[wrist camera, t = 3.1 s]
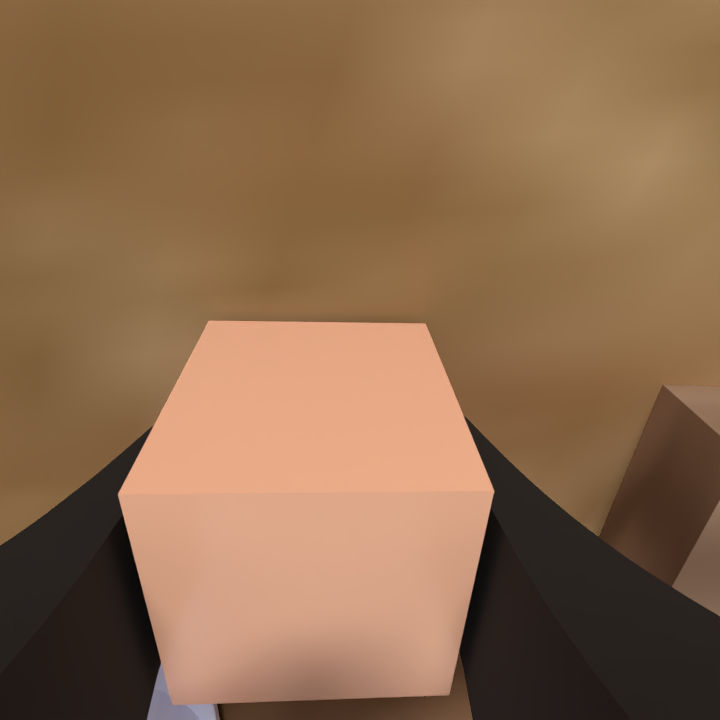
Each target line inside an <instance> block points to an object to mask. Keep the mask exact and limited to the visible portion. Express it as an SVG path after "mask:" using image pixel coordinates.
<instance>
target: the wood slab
mask: <svg viewBox="0 0 720 720" xmlns="http://www.w3.org/2000/svg"><path fill="white" fill-rule="evenodd" d="M599 538H601V539H602V540H603V541H605V542H606V543H607V544H609V545H610V546H611V547H613V548H614V549H616V550H617V551H618V552H620V553H621V554H622V555H624V556H625V557H627V558H628V559H630V560H631V561H633V562H634V563H636V564H637V565H639V566H640V567H642V568H643V569H644V570H646V571H648V572H649V573H651V574H652V575H654V576H655V577H657V578H659V579H660V580H662V581H663V582H665V583H666V584H668V585H670V586H671V587H673V588H674V589H676V590H677V591H679V592H681V593H682V594H684V595H685V596H687V597H688V598H690V599H692V600H693V601H695V602H697V603H698V604H700V605H702V606H704V607H705V608H707V609H709V610H710V611H712V612H714V613H715V614H717V615H719V616H720V387H719V386H689V385H663V386H662V388H661V390H660V393H659V395H658V397H657V400H656V402H655V405H654V407H653V409H652V412H651V414H650V417H649V419H648V421H647V424H646V426H645V428H644V431H643V433H642V436H641V438H640V440H639V443H638V445H637V448H636V450H635V452H634V455H633V457H632V459H631V462H630V464H629V467H628V469H627V471H626V474H625V476H624V479H623V481H622V483H621V486H620V488H619V490H618V493H617V495H616V498H615V500H614V502H613V505H612V507H611V510H610V512H609V514H608V517H607V519H606V521H605V524H604V526H603V529H602V531H601V533H600V536H599Z"/></svg>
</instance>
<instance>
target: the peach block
mask: <svg viewBox="0 0 720 720" xmlns="http://www.w3.org/2000/svg"><path fill="white" fill-rule="evenodd" d="M493 495H494V489H493V486H492V484H491V482H490V479H489V477H488V474H487V472H486V469H485V467H484V465H483V462H482V460H481V457H480V455H479V452H478V450H477V448H476V445H475V443H474V440H473V438H472V435H471V433H470V431H469V428H468V426H467V423H466V421H465V418H464V416H463V413H462V411H461V409H460V406H459V404H458V401H457V399H456V396H455V394H454V392H453V389H452V387H451V384H450V382H449V379H448V377H447V375H446V372H445V370H444V367H443V365H442V362H441V360H440V358H439V355H438V353H437V350H436V348H435V345H434V343H433V341H432V338H431V336H430V333H429V331H428V328H427V326H426V324H423V323H345V322H267V321H209V322H208V323H207V325H206V327H205V329H204V331H203V333H202V335H201V337H200V339H199V341H198V343H197V344H196V346H195V348H194V350H193V352H192V354H191V356H190V358H189V360H188V362H187V364H186V365H185V367H184V369H183V371H182V373H181V375H180V377H179V379H178V381H177V383H176V385H175V386H174V388H173V390H172V392H171V394H170V396H169V398H168V400H167V402H166V404H165V405H164V407H163V409H162V411H161V413H160V415H159V417H158V419H157V421H156V423H155V425H154V426H153V428H152V430H151V432H150V434H149V436H148V438H147V440H146V442H145V444H144V446H143V447H142V449H141V451H140V453H139V455H138V457H137V459H136V461H135V463H134V465H133V467H132V468H131V470H130V472H129V474H128V476H127V478H126V480H125V482H124V484H123V486H122V488H121V489H120V491H119V493H118V497H119V501H120V505H121V508H122V512H123V516H124V520H125V524H126V528H127V532H128V536H129V540H130V543H131V547H132V551H133V555H134V559H135V563H136V567H137V571H138V574H139V578H140V582H141V586H142V590H143V594H144V598H145V602H146V605H147V609H148V613H149V617H150V621H151V625H152V629H153V633H154V636H155V640H156V644H157V648H158V652H159V656H160V660H161V664H162V668H163V671H164V675H165V679H166V683H167V687H168V691H169V695H170V699H171V702H172V705H193V704H221V703H248V702H275V701H303V700H330V699H357V698H384V697H412V696H439V695H449V694H450V689H451V685H452V680H453V676H454V671H455V667H456V662H457V658H458V653H459V649H460V644H461V639H462V635H463V630H464V626H465V621H466V617H467V612H468V608H469V603H470V599H471V594H472V590H473V585H474V581H475V576H476V572H477V567H478V563H479V558H480V553H481V549H482V544H483V540H484V535H485V531H486V526H487V522H488V517H489V513H490V508H491V504H492V499H493Z"/></svg>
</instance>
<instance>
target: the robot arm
mask: <svg viewBox="0 0 720 720" xmlns="http://www.w3.org/2000/svg"><path fill="white" fill-rule="evenodd" d="M463 416H464V415H463ZM464 418H465V421H466V423H467V426H468V428H469V431H470V433H471V435H472V438H473V440H474V443H475V445H476V448H477V450H478V452H479V455H480V457H481V460H482V462H483V465H484V467H485V469H486V472H487V474H488V477H489V479H490V482H491V484H492V486H493V489H494V495H493V499H492V504H491V508H490V513H489V517H488V522H487V526H486V531H485V535H484V540H483V544H482V549H481V553H480V558H479V563H478V567H477V572H476V576H475V581H474V585H473V590H472V594H471V599H470V603H469V608H468V612H467V617H466V621H465V626H464V630H463V635H462V639H461V644H460V649H459V651H460V655H461V659H462V663H463V668H464V673H465V679H466V684H467V690H468V695H469V701H470V706H471V712H472V718H473V720H720V616H719V615H717V614H715V613H714V612H712V611H710V610H709V609H707V608H705V607H704V606H702V605H700V604H698V603H697V602H695V601H693V600H692V599H690V598H688V597H687V596H685V595H684V594H682V593H681V592H679V591H677V590H676V589H674V588H673V587H671V586H670V585H668V584H666V583H665V582H663V581H662V580H660V579H659V578H657V577H655V576H654V575H652V574H651V573H649V572H648V571H646V570H644V569H643V568H642V567H640V566H639V565H637V564H636V563H634V562H633V561H631V560H630V559H628V558H627V557H625V556H624V555H622V554H621V553H620V552H618V551H617V550H616V549H614V548H613V547H611V546H610V545H609V544H607V543H606V542H605V541H603V540H602V539H601V538H599V537H598V536H596V535H595V534H594V533H592V532H591V531H590V530H588V529H587V528H586V527H584V526H583V525H582V524H581V523H579V522H578V521H577V520H575V519H574V518H573V517H572V516H570V515H569V514H568V513H567V512H566V511H564V510H563V509H562V508H561V507H560V506H559V505H557V504H556V503H555V502H554V501H553V500H551V499H550V498H549V497H548V496H547V495H546V494H544V493H543V492H542V491H541V490H540V489H539V488H538V487H536V486H535V485H534V484H533V483H532V482H531V481H530V480H529V479H528V478H526V477H525V476H524V475H523V474H522V473H521V472H520V471H519V470H518V469H517V468H516V467H515V466H514V465H513V464H512V463H511V462H510V461H508V460H507V459H506V458H505V457H504V456H503V455H502V454H501V453H500V452H499V451H498V450H497V449H496V448H495V447H494V446H493V445H492V444H491V443H490V442H489V441H488V440H487V439H486V438H485V437H484V436H483V435H482V433H481V432H480V431H479V430H478V429H477V428H476V427H475V426H474V425H473V424H472V423H471V422H470V421H469V420H468V419H467V418H466V417H465V416H464ZM154 425H155V424H154ZM154 425H153V426H154ZM153 426H152V427H151V428H150V429H149V430H148V431H146V432H145V433H144V434H143V435H142V436H141V437H140V438H138V439H137V440H136V441H135V442H134V443H133V444H132V445H131V446H129V447H128V448H127V449H126V450H125V451H124V452H122V453H121V454H120V455H119V456H118V457H117V458H115V459H114V460H113V461H112V462H111V463H109V464H108V465H107V466H106V467H105V468H104V469H102V470H101V471H100V472H99V473H98V474H97V475H95V476H94V477H93V478H92V479H90V480H89V481H88V482H86V483H85V484H84V485H83V486H81V487H80V488H79V489H77V490H76V491H75V492H74V493H72V494H71V495H70V496H68V497H67V498H66V499H65V500H63V501H62V502H61V503H59V504H58V505H57V506H56V507H54V508H53V509H52V510H50V511H49V512H48V513H47V514H45V515H44V516H42V517H41V518H40V519H38V520H37V521H36V522H34V523H33V524H31V525H30V526H29V527H27V528H26V529H24V530H23V531H21V532H20V533H19V534H17V535H16V536H14V537H13V538H11V539H10V540H8V541H7V542H5V543H4V544H2V545H1V546H0V720H220V718H219V712H218V707H217V704H193V705H172V702H171V699H170V695H169V691H168V687H167V683H166V679H165V675H164V671H163V668H162V664H161V660H160V656H159V652H158V648H157V644H156V640H155V636H154V633H153V629H152V625H151V621H150V617H149V613H148V609H147V605H146V602H145V598H144V594H143V590H142V586H141V582H140V578H139V574H138V571H137V567H136V563H135V559H134V555H133V551H132V547H131V543H130V540H129V536H128V532H127V528H126V524H125V520H124V516H123V512H122V508H121V505H120V501H119V497H118V493H119V491H120V489H121V488H122V486H123V484H124V482H125V480H126V478H127V476H128V474H129V472H130V470H131V468H132V467H133V465H134V463H135V461H136V459H137V457H138V455H139V453H140V451H141V449H142V447H143V446H144V444H145V442H146V440H147V438H148V436H149V434H150V432H151V430H152V428H153Z"/></svg>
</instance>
